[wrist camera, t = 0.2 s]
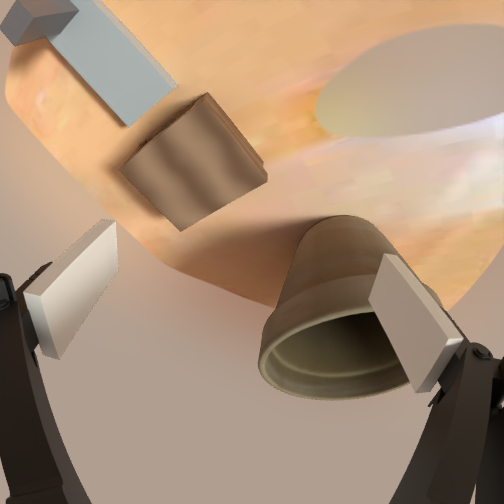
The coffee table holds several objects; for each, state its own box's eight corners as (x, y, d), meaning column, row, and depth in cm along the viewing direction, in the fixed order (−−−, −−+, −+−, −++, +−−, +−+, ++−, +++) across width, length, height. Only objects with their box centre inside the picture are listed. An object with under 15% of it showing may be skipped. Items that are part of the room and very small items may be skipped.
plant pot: (236, 265, 54) (223, 381, 39) (324, 153, 39) (359, 276, 23) (344, 310, 62) (357, 409, 46) (434, 233, 47) (482, 341, 31)
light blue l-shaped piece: (80, -22, 22) (23, -21, 13) (179, 84, 34) (147, 112, 25) (44, 21, 25) (-13, 37, 17) (135, 120, 37) (97, 159, 29)
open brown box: (212, 88, 34) (202, 101, 29) (267, 159, 40) (267, 181, 36) (135, 149, 40) (118, 170, 35) (189, 206, 46) (180, 231, 42)
